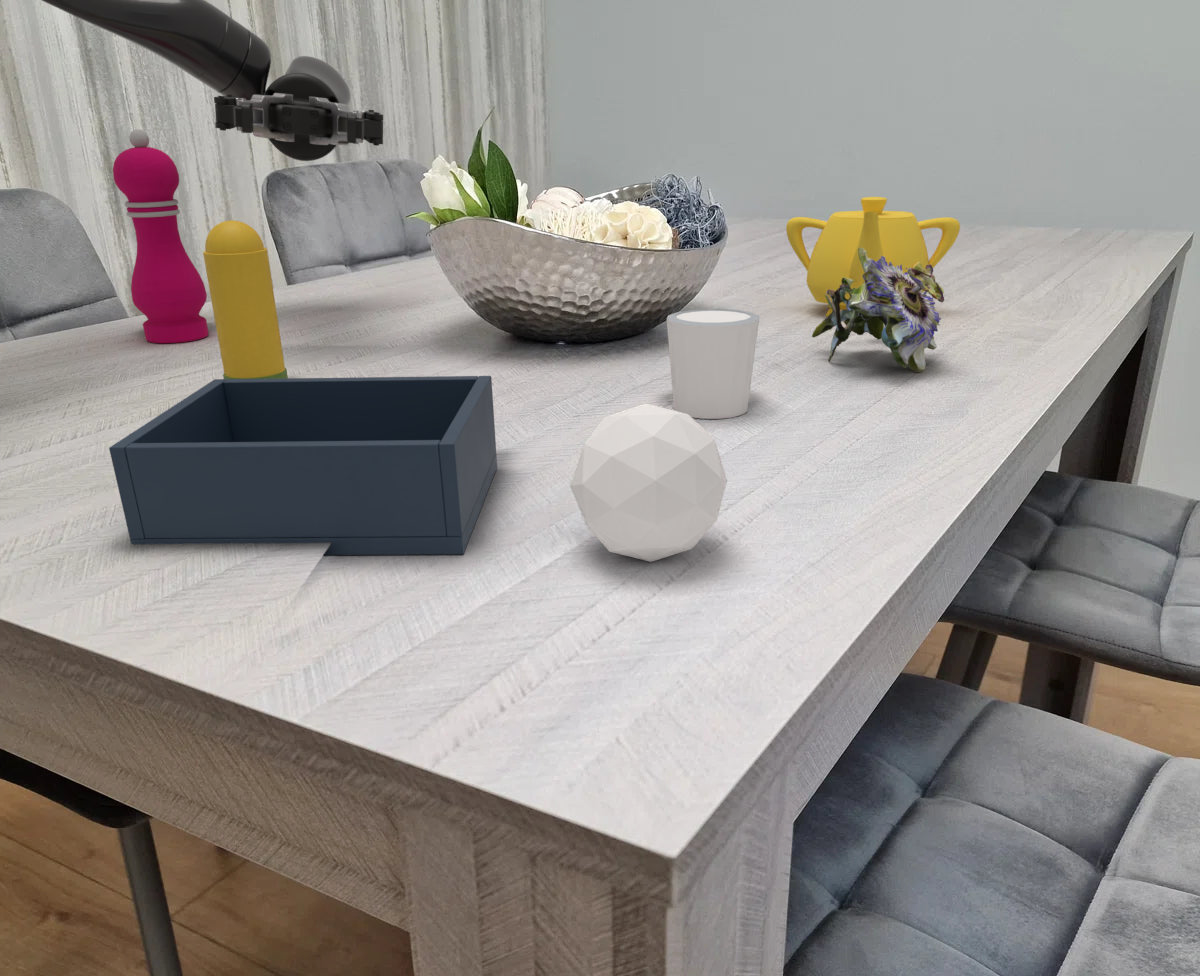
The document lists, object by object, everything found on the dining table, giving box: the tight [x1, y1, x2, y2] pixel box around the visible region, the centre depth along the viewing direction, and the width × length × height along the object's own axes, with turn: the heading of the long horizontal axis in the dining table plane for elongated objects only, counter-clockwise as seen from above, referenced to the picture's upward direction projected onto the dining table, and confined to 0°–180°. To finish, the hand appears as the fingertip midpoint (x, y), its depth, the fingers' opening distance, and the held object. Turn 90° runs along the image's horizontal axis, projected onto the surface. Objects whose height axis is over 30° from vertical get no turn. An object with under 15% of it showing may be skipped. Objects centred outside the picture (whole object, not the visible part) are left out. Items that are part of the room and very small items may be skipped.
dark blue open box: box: [108, 375, 498, 556], centre depth 60 cm, size 18×15×6 cm
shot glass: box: [666, 308, 760, 420], centre depth 78 cm, size 7×7×7 cm
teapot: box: [785, 196, 961, 318], centre depth 112 cm, size 14×14×12 cm
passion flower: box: [811, 247, 945, 373], centre depth 90 cm, size 11×11×12 cm
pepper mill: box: [112, 128, 209, 344], centre depth 105 cm, size 7×7×20 cm
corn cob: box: [202, 219, 289, 379], centre depth 83 cm, size 5×5×14 cm
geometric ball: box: [569, 403, 728, 563], centre depth 53 cm, size 8×8×8 cm
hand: (299, 124), depth 87 cm, fingers open, 8 cm apart
